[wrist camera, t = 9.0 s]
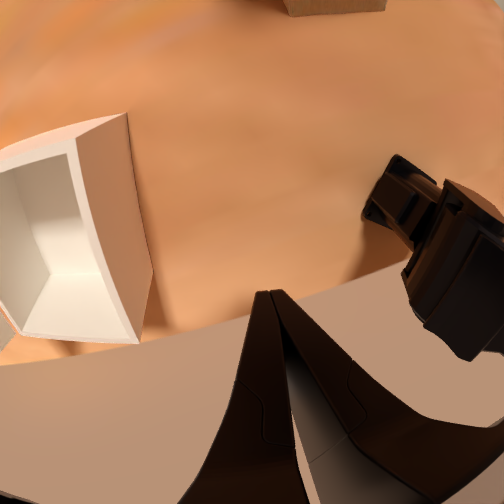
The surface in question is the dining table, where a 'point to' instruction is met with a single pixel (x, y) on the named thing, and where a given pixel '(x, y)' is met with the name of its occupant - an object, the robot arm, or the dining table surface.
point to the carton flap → (5, 332)
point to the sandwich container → (332, 6)
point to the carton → (73, 235)
